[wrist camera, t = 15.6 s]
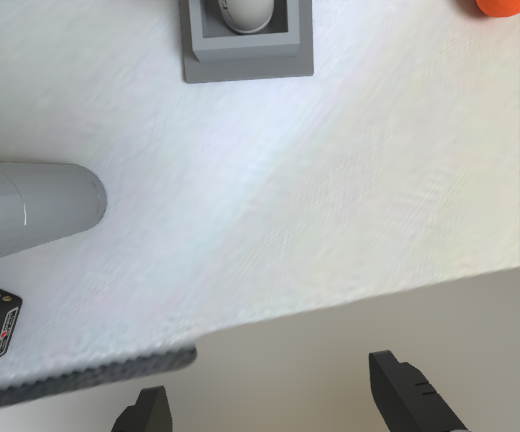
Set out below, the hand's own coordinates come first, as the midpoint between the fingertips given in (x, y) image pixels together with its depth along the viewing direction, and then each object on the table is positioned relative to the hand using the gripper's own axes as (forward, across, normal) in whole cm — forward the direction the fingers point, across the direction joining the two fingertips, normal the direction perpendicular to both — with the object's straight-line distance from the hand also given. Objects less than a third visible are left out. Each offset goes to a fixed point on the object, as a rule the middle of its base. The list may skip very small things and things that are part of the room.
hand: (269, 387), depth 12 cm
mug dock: (+32, -3, -26) cm, 42 cm away
